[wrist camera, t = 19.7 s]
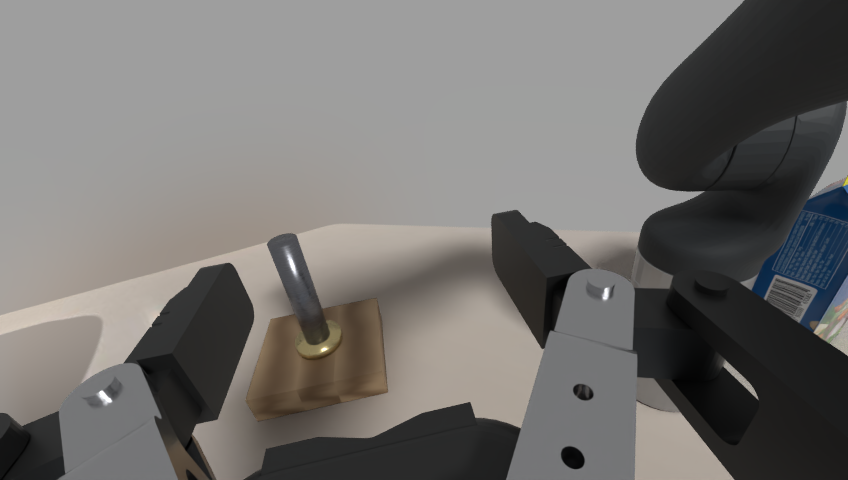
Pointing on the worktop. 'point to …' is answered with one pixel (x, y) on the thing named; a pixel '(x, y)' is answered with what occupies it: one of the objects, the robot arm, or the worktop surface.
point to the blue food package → (812, 265)
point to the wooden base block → (319, 364)
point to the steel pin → (304, 300)
